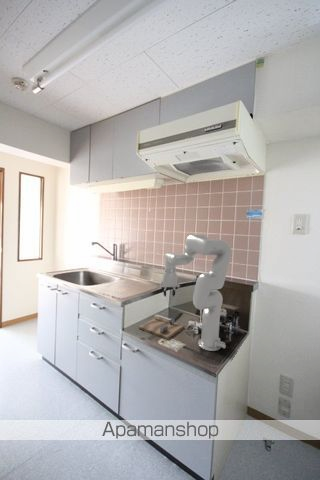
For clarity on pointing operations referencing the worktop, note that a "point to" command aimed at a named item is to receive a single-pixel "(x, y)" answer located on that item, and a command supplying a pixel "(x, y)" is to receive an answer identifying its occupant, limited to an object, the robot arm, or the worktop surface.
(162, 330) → the block
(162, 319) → the bar
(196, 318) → the worktop surface
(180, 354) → the worktop surface
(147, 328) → the lock board
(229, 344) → the worktop surface
